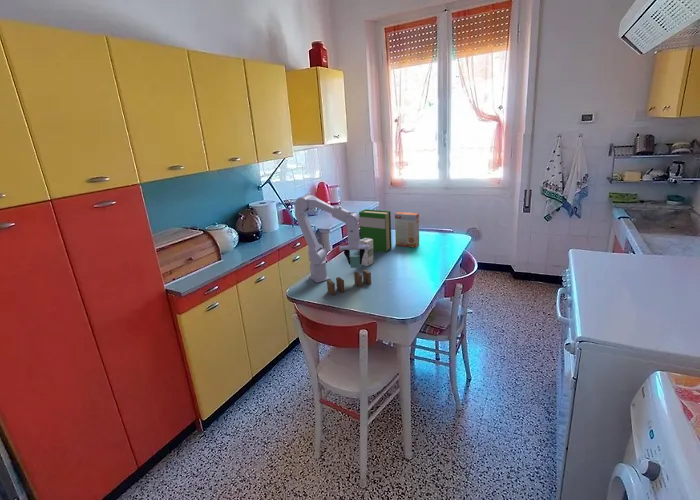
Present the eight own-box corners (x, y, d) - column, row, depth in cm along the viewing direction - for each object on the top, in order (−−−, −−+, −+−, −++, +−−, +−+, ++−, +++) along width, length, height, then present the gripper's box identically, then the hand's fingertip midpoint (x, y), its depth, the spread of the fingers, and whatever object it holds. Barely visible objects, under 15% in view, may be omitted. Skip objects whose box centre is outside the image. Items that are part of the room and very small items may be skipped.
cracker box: (419, 245, 230) (419, 212, 223) (416, 248, 225) (415, 215, 218) (399, 242, 237) (398, 211, 230) (395, 245, 233) (394, 213, 226)
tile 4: (368, 284, 180) (367, 273, 178) (363, 281, 184) (362, 270, 182) (371, 283, 181) (370, 272, 179) (366, 280, 185) (365, 269, 183)
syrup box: (365, 261, 210) (364, 237, 205) (374, 263, 206) (373, 238, 201) (359, 264, 206) (358, 240, 201) (368, 266, 202) (366, 241, 197)
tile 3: (359, 287, 178) (359, 275, 176) (354, 283, 182) (354, 272, 180) (362, 286, 179) (362, 275, 177) (357, 282, 183) (356, 271, 181)
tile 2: (341, 292, 174) (340, 281, 172) (337, 289, 178) (336, 277, 176) (344, 291, 174) (343, 280, 172) (339, 288, 178) (339, 276, 176)
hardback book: (391, 248, 227) (390, 211, 219) (386, 252, 221) (384, 214, 213) (367, 245, 236) (365, 209, 228) (361, 249, 231) (358, 212, 223)
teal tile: (350, 266, 184) (350, 255, 182) (360, 266, 183) (360, 255, 181) (350, 267, 182) (349, 256, 180) (360, 267, 182) (359, 256, 180)
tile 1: (332, 295, 171) (331, 284, 169) (327, 291, 176) (326, 280, 174) (335, 294, 172) (334, 283, 170) (330, 290, 176) (329, 279, 174)
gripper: (337, 240, 174) (339, 267, 179) (368, 239, 173) (369, 266, 177) (339, 236, 181) (341, 261, 186) (368, 235, 179) (370, 261, 184)
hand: (355, 263), depth 182 cm, fingers closed on teal tile, 5 cm apart
